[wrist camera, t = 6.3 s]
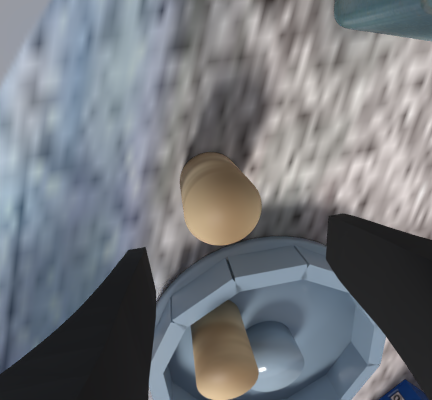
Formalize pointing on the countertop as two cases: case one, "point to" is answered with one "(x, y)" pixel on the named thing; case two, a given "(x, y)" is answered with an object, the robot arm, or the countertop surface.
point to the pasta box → (405, 392)
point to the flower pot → (387, 17)
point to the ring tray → (269, 323)
